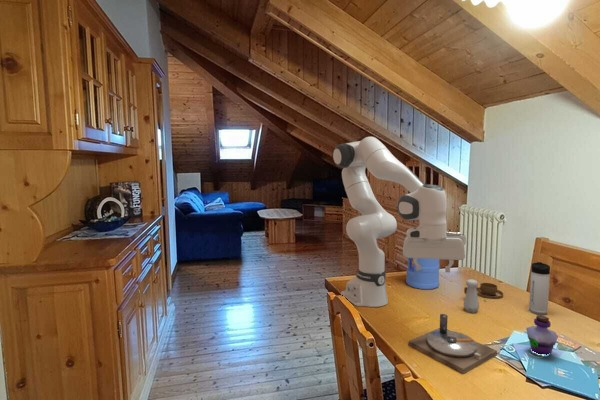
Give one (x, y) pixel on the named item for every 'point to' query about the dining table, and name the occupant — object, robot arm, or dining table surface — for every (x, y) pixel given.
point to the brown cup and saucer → (487, 291)
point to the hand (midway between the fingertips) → (432, 271)
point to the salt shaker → (471, 296)
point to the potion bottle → (541, 336)
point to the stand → (454, 362)
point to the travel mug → (539, 288)
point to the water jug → (423, 273)
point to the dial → (451, 341)
